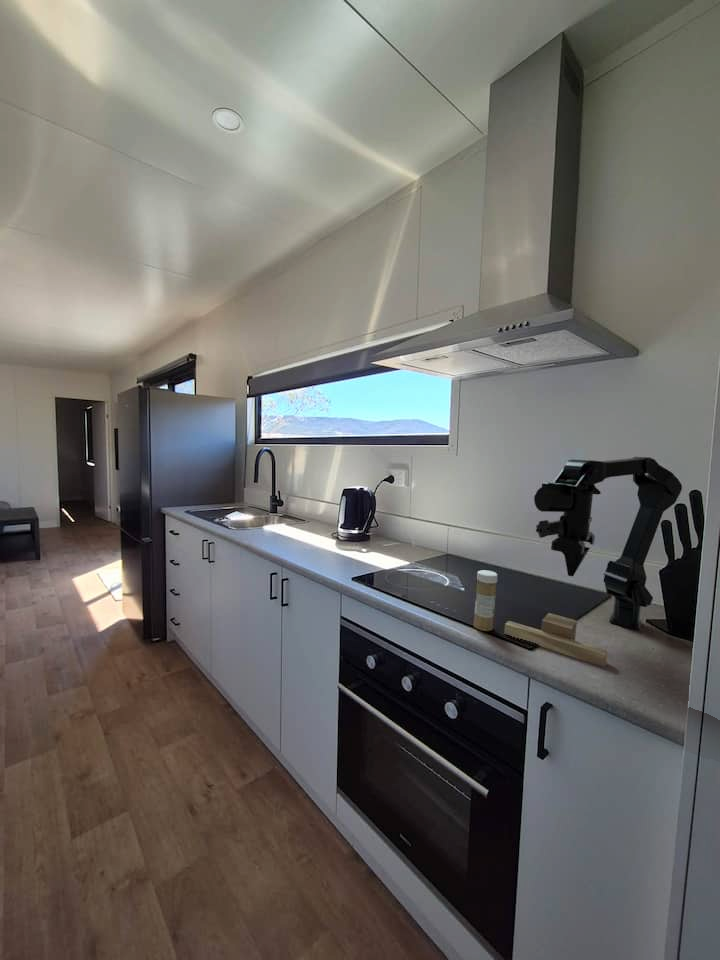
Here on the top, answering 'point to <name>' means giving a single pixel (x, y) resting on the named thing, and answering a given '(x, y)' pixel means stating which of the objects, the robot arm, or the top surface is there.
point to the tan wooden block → (559, 626)
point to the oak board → (557, 643)
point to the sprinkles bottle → (485, 600)
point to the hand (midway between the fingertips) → (570, 575)
